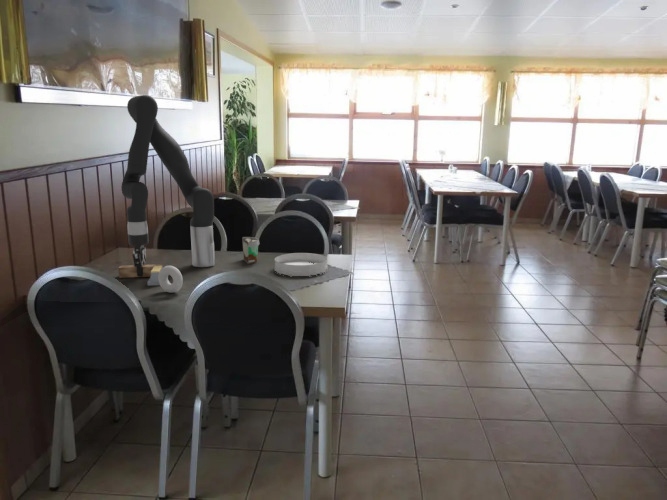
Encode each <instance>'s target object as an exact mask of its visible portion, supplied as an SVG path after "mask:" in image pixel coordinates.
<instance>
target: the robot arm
mask: <svg viewBox="0 0 667 500" xmlns="http://www.w3.org/2000/svg"><path fill="white" fill-rule="evenodd" d="M126 107H127V108H126V109H127V112H128V114H129V116H130V117H131V118H132V120H133V122H135V125H136V126H135V131H134V134H133V135H134V136H133V139H132V141H131V144H130V147H129V151H128V156H127V157H128V158H127V166H126V167H127V169H126V171H125V173H124V176H123V179H122V181H121V194H122V195H123V197H124V198H126V199H128V200H131V202H130V203H131V204H130V205H129V206H127V208H126V218H127V219H126V221H127V226H126V228H127V239H128V245H130V246H134V249H133V250H132V252H133V253H132V259H133V264H134V266H135V267H136V268H137V276H143V265H146V261H147V260H146V259H147V254H146V253H147V252H146V251H147V250H146V249H147V247H146V245H148V244H149V243H150V242H149V241H150V240H149V238H150V237H149V228H148V227H149V226H148V221H147V211H146V210H147V205H148V199H149V190H148V186H147V185H146V184H145V183H144V182H142V181H140V180H141V178H142V176H144V175H146V174H147V167H148V159H149V151H150V150H149V149H150V145H151V146H152V148H153V149H154V151H155V152H156V153H155V154H157V156H158V158H159V159H160V161H161V162H162V164H163V165H164V167H165V168H166V170H167V171H168V173H169V174H170V176H171V177H172V178H173V180H174V181H175V183H176V184H177V186H178V187H179V189H180V191H181V193H182V195H183V197H184V199H185V201H186V203H187V205H189V207H191V208H192V211H193V212H192V217H191V218H190V220H189V225H190V226H189V227H190V242H191V263H192V264H191V265H192V266H193V267H195V268H207V267H208V268H209V267H214V266H215V263H216V259H215V257H216V256H215V255H216V254H215V241H214V229H213V228H214V225H213V222H214V218H215V198H214V194H213V193H212V191H211V190H209V189H208V188H205V187H201V186H200V184H199V183H198V182H197V180H196V178H195V177H194V176H193V174H192V172H191V169H190V165H189V161H188V157H187V155H186V154H185V152H184V151H183V149H182V148H181V146H180V144H179V143H178V142H177V140H176V139H175V138H174V137H173V136H171V134H170V133H168V131H166V130H165V128H163V126H161V124H160V122H159V121H158V119H157V115H158V110H159V109H158V108H159V107H158V103H157V101H156V100H155V98H154V97H153V96H151V95H148V94H142V95H137V96H136V95H135V96H133V97H131V98H130V99H129V100H128V102H127V106H126Z"/></svg>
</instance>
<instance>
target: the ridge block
mask: <svg viewBox="0 0 667 500" xmlns="http://www.w3.org/2000/svg"><path fill="white" fill-rule="evenodd" d="M162 268H163V265H162V266H154V267H153V269H152V270H151V277H149V279H148V280H147V283H146V284H147V286H160V284H159V280H158V275H159V272H160V270H161V269H162Z"/></svg>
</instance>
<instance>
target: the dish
mask: <svg viewBox="0 0 667 500" xmlns="http://www.w3.org/2000/svg"><path fill="white" fill-rule="evenodd" d="M308 261H312V262H313V261H314V262H315V263H314V264H313V263H311V262H310V263H309V262H308ZM326 269H327V270H328V258H327V256H325V255H323V254H318V253H312V252H311V253H310V252H293V253H292V252H291V253H285V254H281V255H280V254H279V255H278V256H276V257H275V258H274V272H275V271H277V272H279V273H283V274H292V275H310V274H316V273H320V272H323V271H325V270H326Z"/></svg>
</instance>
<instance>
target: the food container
mask: <svg viewBox="0 0 667 500" xmlns="http://www.w3.org/2000/svg"><path fill="white" fill-rule="evenodd" d="M241 243H242V254H243V260H244V262H246V263H247V265H252V263H254V264H256V263H258V255H259V253H258V252H259V251H258V249H259V245H260V240H259V238H257V237H254V236H253V237H251V236H242V241H241ZM255 262H256V263H255Z"/></svg>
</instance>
